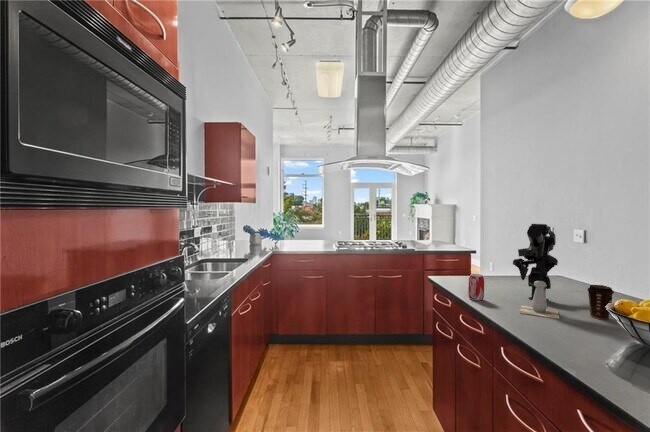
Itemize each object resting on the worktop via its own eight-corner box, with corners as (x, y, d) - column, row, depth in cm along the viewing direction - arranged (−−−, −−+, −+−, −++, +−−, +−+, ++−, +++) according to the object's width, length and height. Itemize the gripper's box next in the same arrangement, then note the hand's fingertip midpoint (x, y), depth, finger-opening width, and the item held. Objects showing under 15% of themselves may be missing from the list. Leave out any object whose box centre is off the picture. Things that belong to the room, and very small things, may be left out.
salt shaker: (528, 309, 155) (529, 279, 154) (540, 308, 155) (541, 279, 155) (537, 313, 149) (538, 282, 149) (550, 313, 150) (551, 282, 149)
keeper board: (521, 305, 162) (521, 304, 162) (557, 310, 154) (557, 309, 154) (519, 313, 150) (519, 312, 150) (559, 319, 142) (559, 318, 142)
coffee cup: (608, 315, 148) (609, 285, 148) (617, 321, 140) (618, 289, 140) (583, 313, 151) (584, 283, 151) (591, 319, 143) (592, 287, 143)
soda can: (485, 301, 167) (486, 276, 167) (469, 300, 169) (470, 276, 168) (481, 298, 174) (482, 274, 174) (466, 297, 176) (467, 273, 175)
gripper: (506, 243, 170) (501, 273, 165) (542, 237, 153) (537, 270, 148) (523, 253, 173) (518, 283, 167) (560, 248, 156) (556, 280, 150)
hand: (531, 279), depth 158 cm, fingers open, 9 cm apart
